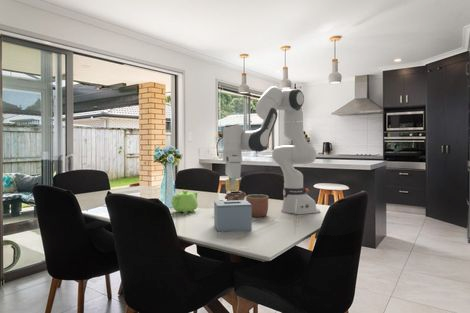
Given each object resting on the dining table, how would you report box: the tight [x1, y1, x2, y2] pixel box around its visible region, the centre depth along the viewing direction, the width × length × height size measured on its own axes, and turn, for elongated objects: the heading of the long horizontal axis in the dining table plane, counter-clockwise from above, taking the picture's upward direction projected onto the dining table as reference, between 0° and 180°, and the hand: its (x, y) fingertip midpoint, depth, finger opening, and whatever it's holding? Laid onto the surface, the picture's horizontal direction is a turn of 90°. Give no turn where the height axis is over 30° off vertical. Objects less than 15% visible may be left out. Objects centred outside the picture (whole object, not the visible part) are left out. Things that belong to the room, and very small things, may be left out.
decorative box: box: [224, 190, 247, 201], centre depth 203 cm, size 13×20×10 cm, turn 155°
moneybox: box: [213, 199, 253, 233], centre depth 152 cm, size 16×12×12 cm
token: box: [225, 178, 240, 191], centre depth 152 cm, size 6×2×5 cm, turn 101°
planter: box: [245, 194, 269, 218], centre depth 177 cm, size 12×12×11 cm
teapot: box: [171, 190, 199, 215], centre depth 188 cm, size 20×13×13 cm
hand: (232, 186), depth 152 cm, fingers closed on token, 2 cm apart
